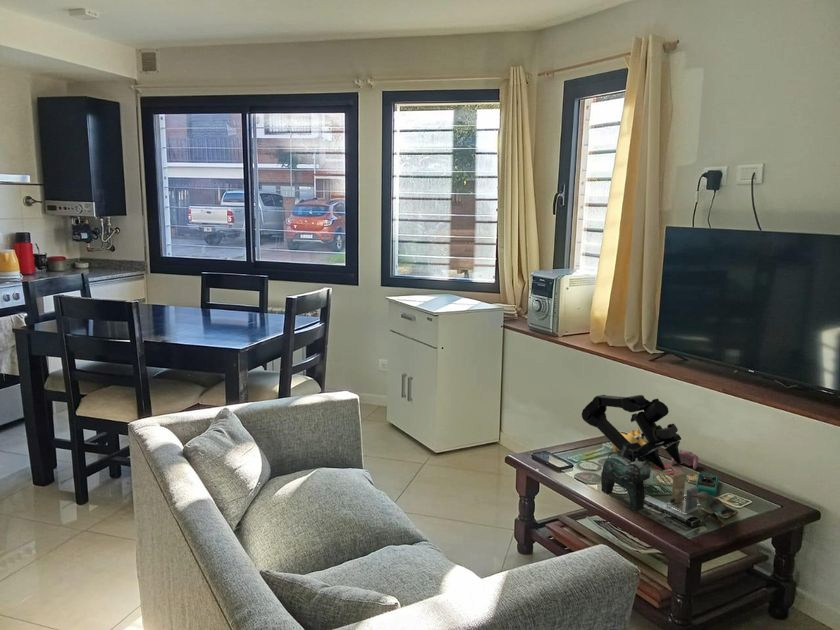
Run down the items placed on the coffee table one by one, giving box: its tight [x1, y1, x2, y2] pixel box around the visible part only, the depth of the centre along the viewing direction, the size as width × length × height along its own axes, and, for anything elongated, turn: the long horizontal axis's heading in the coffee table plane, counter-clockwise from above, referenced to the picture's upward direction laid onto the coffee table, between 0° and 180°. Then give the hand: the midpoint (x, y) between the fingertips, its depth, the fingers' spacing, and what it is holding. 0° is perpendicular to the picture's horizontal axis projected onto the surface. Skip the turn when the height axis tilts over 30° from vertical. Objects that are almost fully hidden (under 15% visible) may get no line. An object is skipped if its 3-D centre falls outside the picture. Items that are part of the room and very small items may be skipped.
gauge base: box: [666, 486, 699, 514], centre depth 223 cm, size 7×7×8 cm
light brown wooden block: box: [669, 471, 687, 503], centre depth 224 cm, size 2×6×10 cm, turn 122°
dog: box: [610, 427, 647, 453], centre depth 267 cm, size 8×20×13 cm, turn 28°
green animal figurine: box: [600, 449, 652, 512], centre depth 227 cm, size 20×6×20 cm, turn 26°
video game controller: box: [670, 449, 699, 471], centre depth 259 cm, size 10×5×7 cm, turn 58°
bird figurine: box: [690, 492, 736, 528], centre depth 214 cm, size 13×10×20 cm
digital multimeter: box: [694, 472, 719, 497], centre depth 240 cm, size 7×15×3 cm, turn 152°
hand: (672, 466), depth 227 cm, fingers open, 9 cm apart
